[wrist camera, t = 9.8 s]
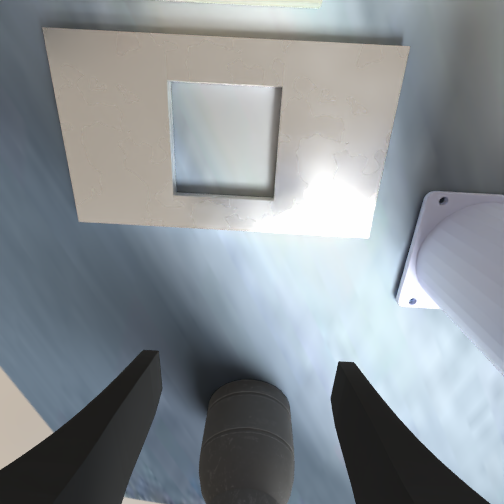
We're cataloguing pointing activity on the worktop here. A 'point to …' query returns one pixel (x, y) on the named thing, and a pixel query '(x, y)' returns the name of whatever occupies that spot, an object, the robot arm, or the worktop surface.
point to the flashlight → (247, 446)
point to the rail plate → (225, 73)
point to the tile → (263, 2)
